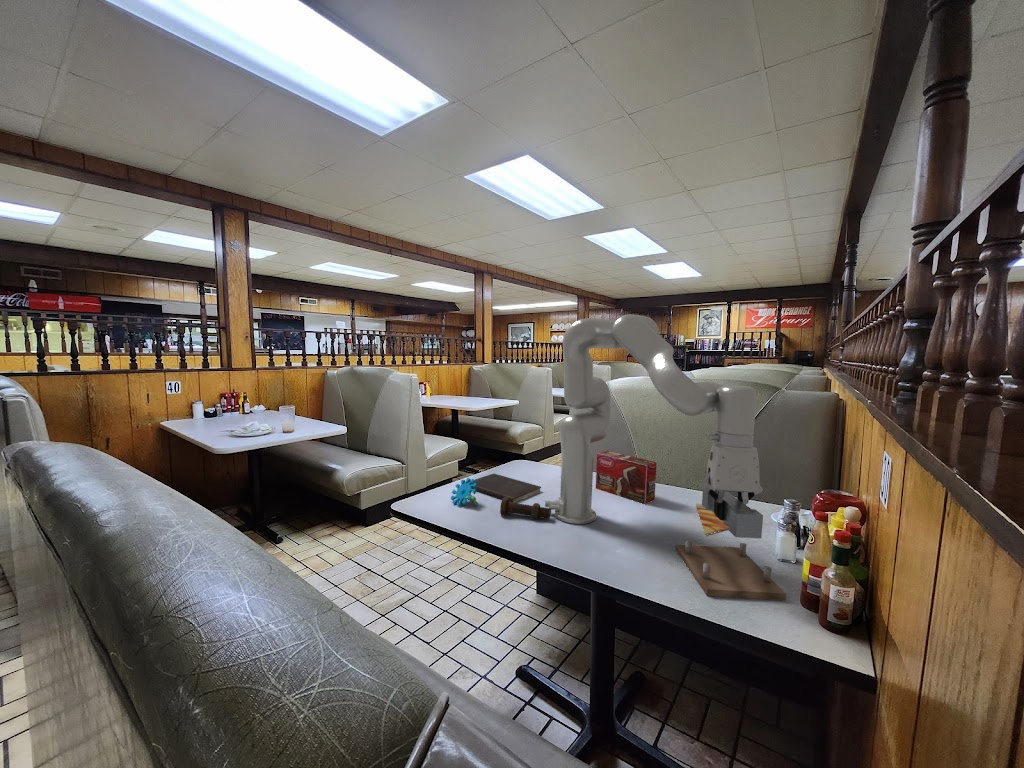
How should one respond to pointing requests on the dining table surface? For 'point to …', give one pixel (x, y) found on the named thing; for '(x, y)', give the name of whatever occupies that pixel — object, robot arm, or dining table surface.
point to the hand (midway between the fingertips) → (728, 517)
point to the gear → (464, 492)
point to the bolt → (524, 509)
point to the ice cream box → (626, 476)
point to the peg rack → (729, 572)
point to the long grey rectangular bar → (737, 515)
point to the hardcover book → (505, 487)
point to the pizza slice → (710, 520)
